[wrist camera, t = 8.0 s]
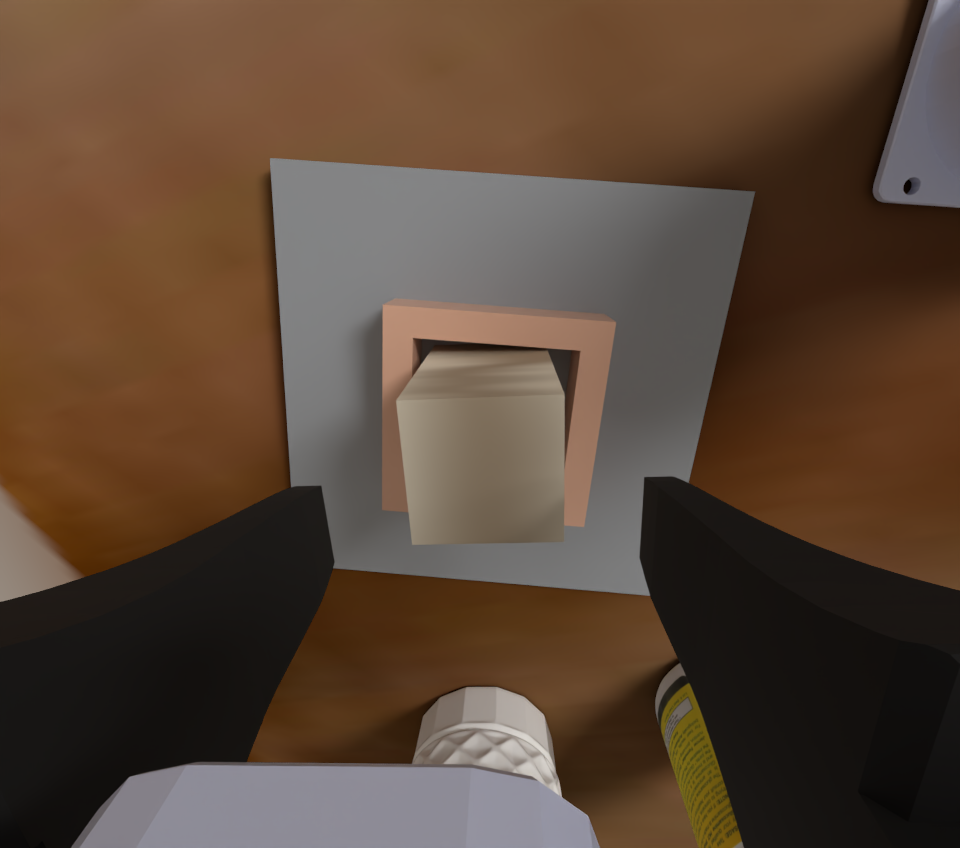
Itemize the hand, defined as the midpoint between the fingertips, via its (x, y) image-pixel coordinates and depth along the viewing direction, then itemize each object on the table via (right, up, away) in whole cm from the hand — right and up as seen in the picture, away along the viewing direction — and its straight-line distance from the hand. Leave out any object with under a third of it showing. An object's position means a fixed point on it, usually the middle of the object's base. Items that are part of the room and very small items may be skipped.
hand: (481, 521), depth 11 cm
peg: (0, +3, +8) cm, 9 cm away
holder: (0, +3, +9) cm, 9 cm away
